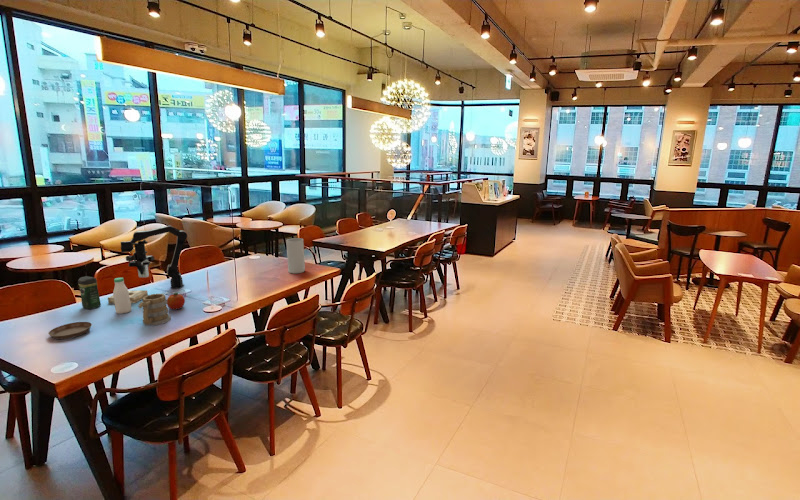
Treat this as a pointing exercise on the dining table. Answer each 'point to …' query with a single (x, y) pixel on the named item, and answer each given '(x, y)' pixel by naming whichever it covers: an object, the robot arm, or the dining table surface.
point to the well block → (132, 296)
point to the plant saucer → (70, 330)
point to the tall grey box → (145, 273)
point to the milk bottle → (121, 297)
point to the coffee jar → (89, 292)
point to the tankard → (155, 309)
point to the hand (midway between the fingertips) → (143, 273)
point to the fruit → (175, 301)
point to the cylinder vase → (295, 255)
